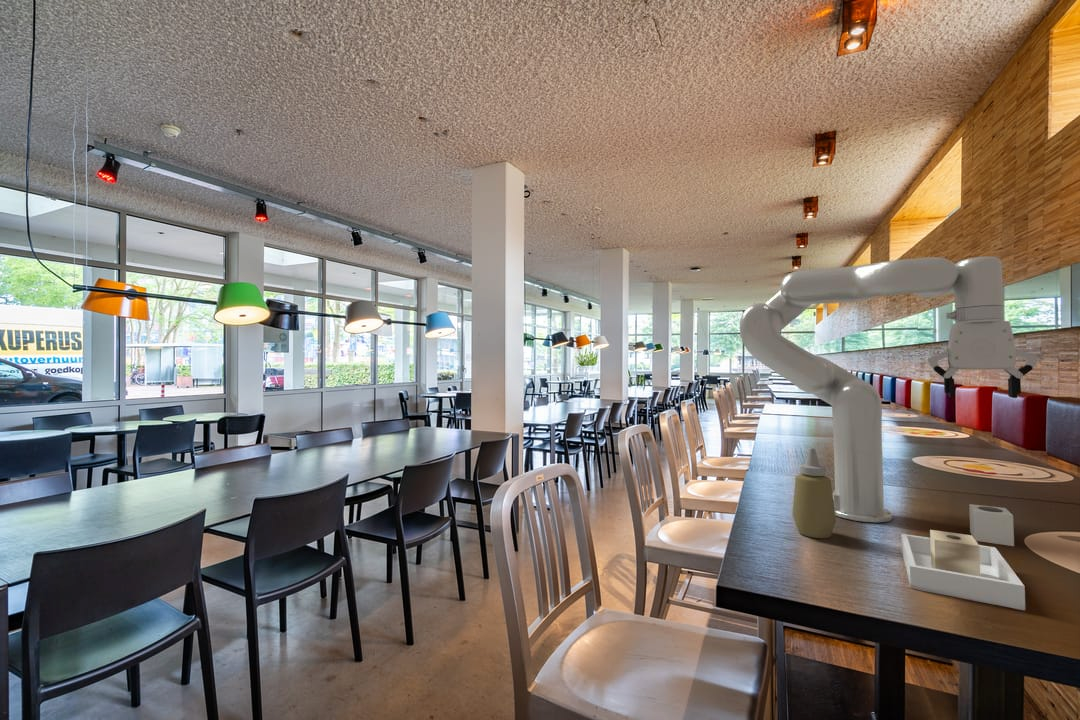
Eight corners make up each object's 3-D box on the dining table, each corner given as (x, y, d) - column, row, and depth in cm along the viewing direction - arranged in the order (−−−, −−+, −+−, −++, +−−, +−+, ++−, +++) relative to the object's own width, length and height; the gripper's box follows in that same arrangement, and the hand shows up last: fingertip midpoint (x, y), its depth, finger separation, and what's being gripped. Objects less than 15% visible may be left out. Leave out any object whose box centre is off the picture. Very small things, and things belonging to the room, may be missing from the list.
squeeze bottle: (821, 544, 94) (819, 453, 94) (784, 531, 101) (782, 447, 101) (845, 536, 97) (843, 449, 98) (807, 525, 104) (805, 444, 105)
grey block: (975, 541, 94) (974, 510, 94) (970, 532, 99) (969, 503, 99) (1014, 546, 91) (1013, 515, 91) (1006, 537, 95) (1005, 507, 96)
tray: (910, 588, 75) (909, 566, 75) (901, 552, 89) (901, 533, 89) (1025, 610, 67) (1024, 586, 68) (995, 567, 82) (995, 547, 82)
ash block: (935, 576, 77) (934, 539, 78) (931, 564, 82) (929, 529, 82) (980, 584, 74) (979, 545, 75) (973, 571, 79) (972, 535, 79)
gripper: (928, 318, 101) (930, 397, 101) (1042, 311, 92) (1045, 399, 91) (924, 320, 108) (926, 395, 107) (1030, 314, 98) (1033, 396, 98)
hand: (981, 397), depth 99 cm, fingers open, 9 cm apart
